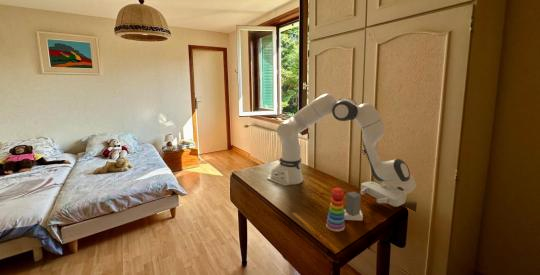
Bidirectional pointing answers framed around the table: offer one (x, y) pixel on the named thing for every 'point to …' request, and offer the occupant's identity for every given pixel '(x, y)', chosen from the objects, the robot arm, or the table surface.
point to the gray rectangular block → (353, 203)
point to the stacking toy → (336, 211)
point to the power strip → (350, 217)
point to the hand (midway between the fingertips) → (369, 196)
